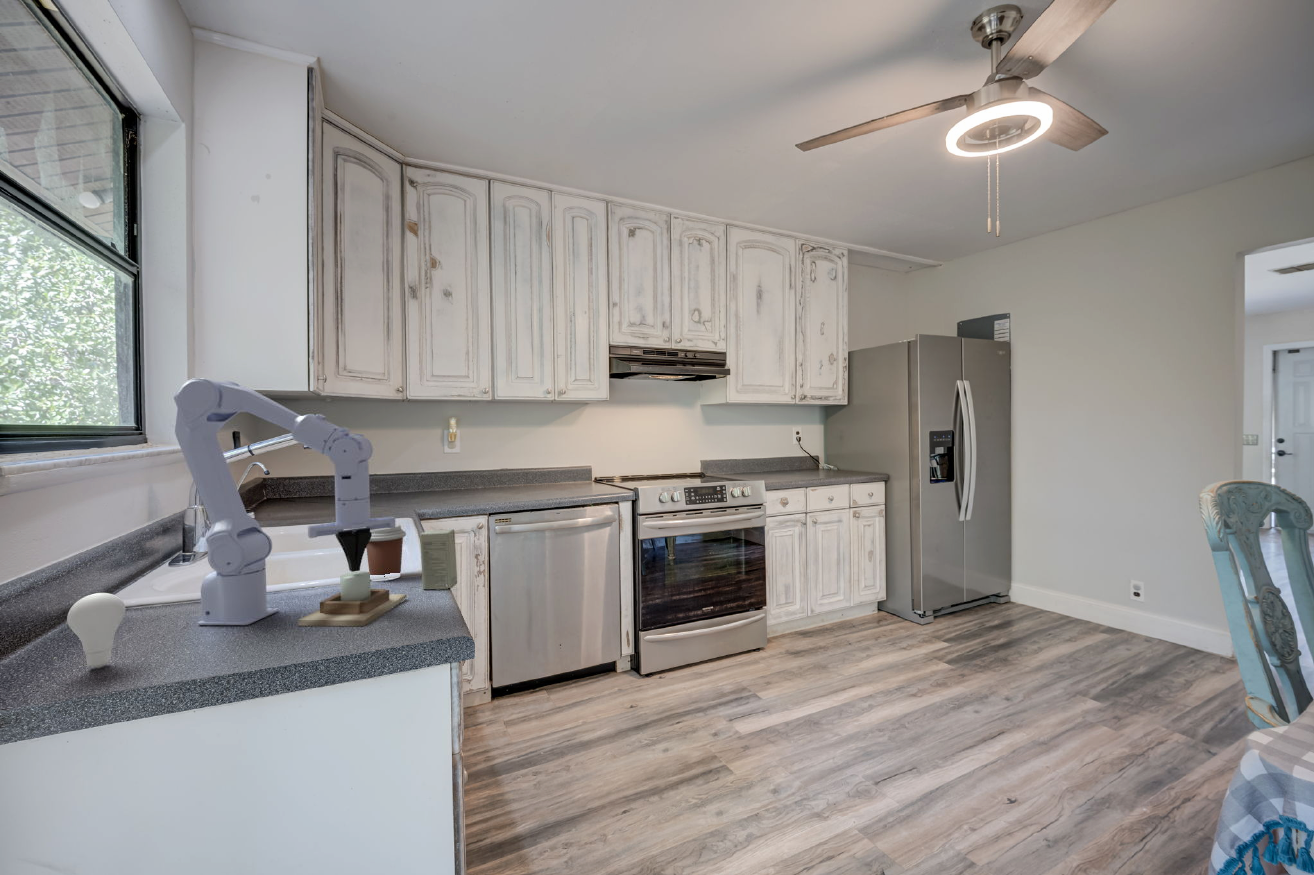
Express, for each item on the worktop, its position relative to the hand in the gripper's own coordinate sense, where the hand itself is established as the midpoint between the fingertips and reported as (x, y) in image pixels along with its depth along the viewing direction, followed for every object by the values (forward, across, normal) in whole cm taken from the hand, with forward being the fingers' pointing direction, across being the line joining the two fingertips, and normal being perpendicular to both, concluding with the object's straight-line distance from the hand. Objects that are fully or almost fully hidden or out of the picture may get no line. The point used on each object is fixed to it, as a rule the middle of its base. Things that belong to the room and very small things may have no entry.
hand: (354, 570), depth 107 cm
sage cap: (+7, 0, 0) cm, 7 cm away
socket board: (+8, 0, 0) cm, 8 cm away
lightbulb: (+8, -35, -1) cm, 36 cm away
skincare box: (+8, +18, +5) cm, 20 cm away
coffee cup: (+8, +11, +21) cm, 25 cm away
